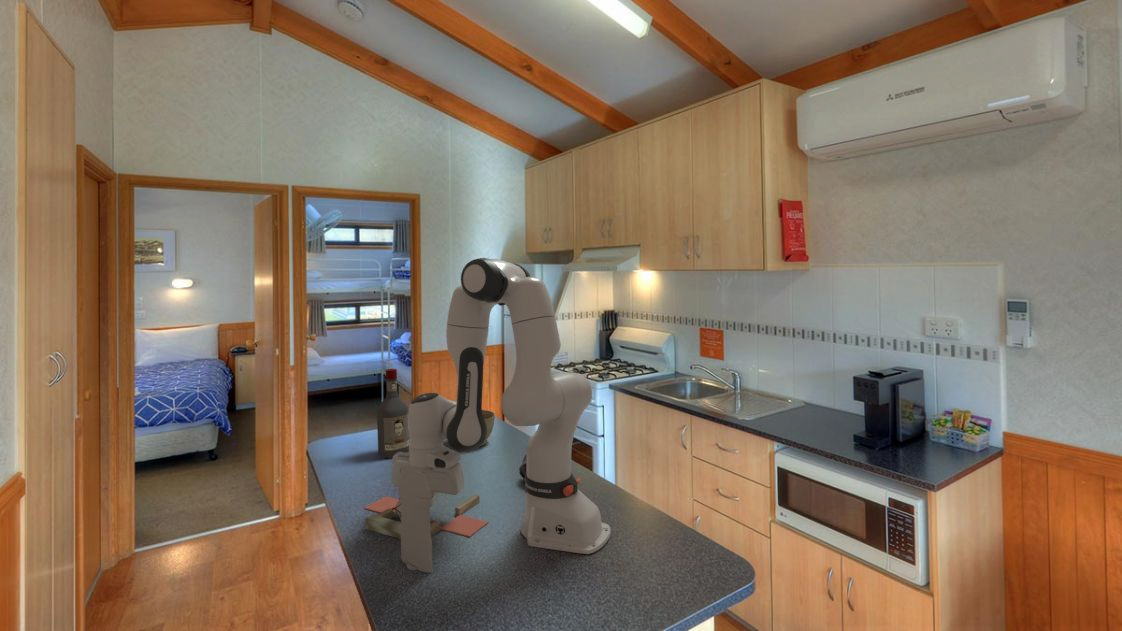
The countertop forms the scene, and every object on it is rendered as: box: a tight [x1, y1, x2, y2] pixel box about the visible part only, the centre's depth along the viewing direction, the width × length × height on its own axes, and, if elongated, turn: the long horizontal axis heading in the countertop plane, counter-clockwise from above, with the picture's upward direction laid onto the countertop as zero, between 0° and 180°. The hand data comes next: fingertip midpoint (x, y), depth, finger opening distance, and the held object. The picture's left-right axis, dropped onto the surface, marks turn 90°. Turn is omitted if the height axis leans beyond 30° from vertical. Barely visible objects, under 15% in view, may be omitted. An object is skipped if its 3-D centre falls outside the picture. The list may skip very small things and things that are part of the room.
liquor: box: [376, 368, 410, 459], centre depth 185 cm, size 9×9×30 cm
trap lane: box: [365, 494, 481, 540], centre depth 140 cm, size 17×25×3 cm
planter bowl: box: [480, 409, 496, 447], centre depth 197 cm, size 16×16×11 cm
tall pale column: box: [397, 467, 434, 574], centre depth 116 cm, size 11×4×22 cm, turn 55°
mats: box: [363, 495, 489, 538], centre depth 140 cm, size 35×8×1 cm, turn 64°
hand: (427, 505), depth 141 cm, fingers closed
